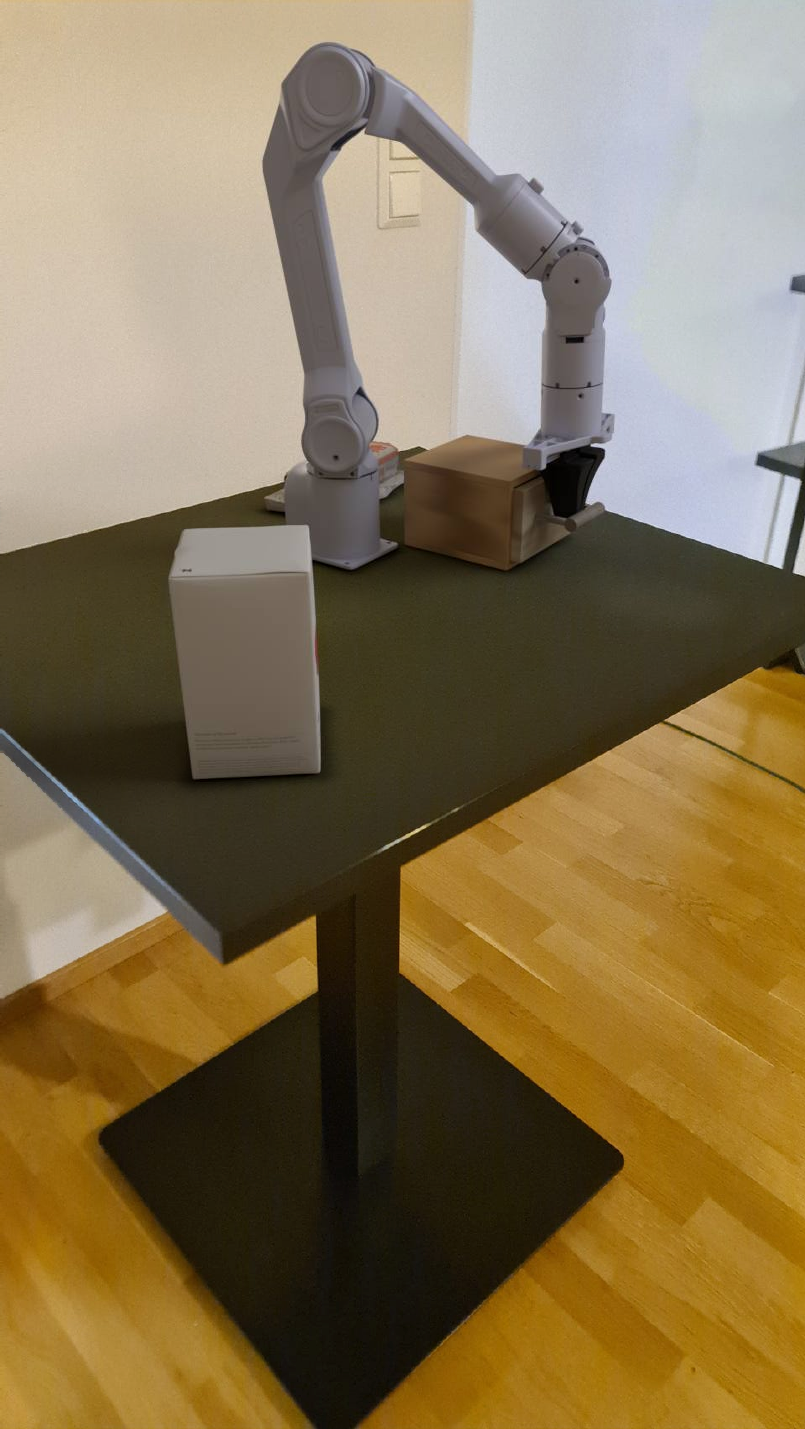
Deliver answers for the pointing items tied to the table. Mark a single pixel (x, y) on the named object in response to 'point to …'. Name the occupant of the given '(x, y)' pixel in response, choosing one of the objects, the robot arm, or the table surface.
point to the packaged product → (387, 475)
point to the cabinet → (464, 499)
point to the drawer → (542, 520)
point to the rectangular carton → (247, 650)
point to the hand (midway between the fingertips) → (568, 522)
